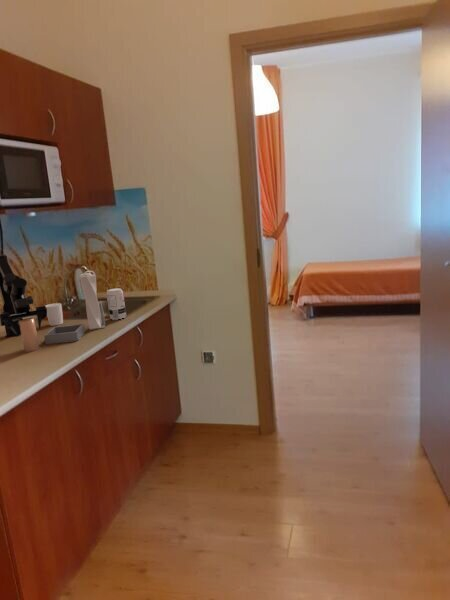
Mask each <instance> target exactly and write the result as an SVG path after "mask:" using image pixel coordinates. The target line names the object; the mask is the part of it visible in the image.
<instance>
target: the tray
mask: <svg viewBox="0 0 450 600" xmlns="http://www.w3.org/2000/svg"><path fill="white" fill-rule="evenodd" d="M85 326H86V325H85V323H79V324H71V325H57V326H53V327H52V328H51V329H49V330H48V332H46V333H45V334H44V340H45V345H51V344H60V343H69V342H71V343H72V342H78V341H79V340H80V339H81V338H82V337H83V336H84V335H85V333H86V327H85ZM82 335H83V336H82ZM81 336H82V337H81ZM77 340H78V341H77Z"/></svg>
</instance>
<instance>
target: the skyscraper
mask: <svg viewBox="0 0 450 600" xmlns="http://www.w3.org/2000/svg"><path fill="white" fill-rule="evenodd" d="M92 273H93V274H92ZM79 279H80V283H81V284H80V285H81V288H82V292H83V296H84V298H85V308H86V309H85V311H86V317H87V322H88V323H87V324H88V329H89V331H93V330H100V328H102V329H105V328H106V326H105V325H107V323H106V318H105V313H104V308H103V304H102V301H101V299H100V300H98V296H97V293H98V291H97V290H98V289H97V276H96V273H95V271H93V270H87V271H85V272H84V273H82V274H79ZM99 303H100V304H99Z"/></svg>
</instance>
